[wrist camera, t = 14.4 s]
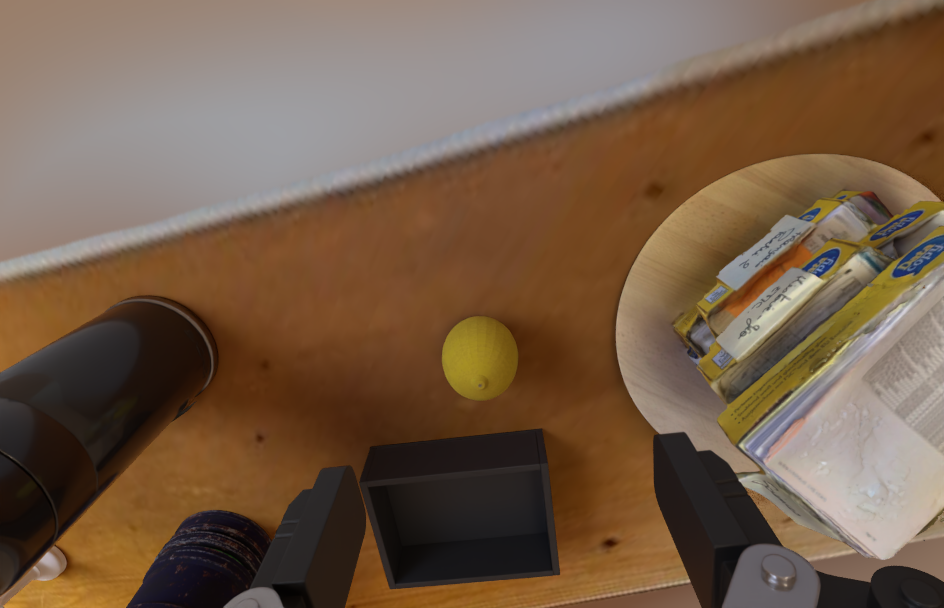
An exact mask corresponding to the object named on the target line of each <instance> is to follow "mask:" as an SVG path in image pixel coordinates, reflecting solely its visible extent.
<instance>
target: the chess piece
mask: <svg viewBox="0 0 944 608" xmlns="http://www.w3.org/2000/svg"><path fill="white" fill-rule="evenodd" d="M66 565H67V562H66V558H65V556H64V554H63V553H62V552H61V551H60V550H59V549H58V548H57V547H55V546H53V547H52V548H51V549H50V550H49V551H48V552H47V553H46V554H45V556H44V557H43V558H42V559H41V560H40V561H39V562H38V563H37V564H36V565H35V566H34V567H33V568H32V569H31V570H30V571H29V572H28V573H27V574H26V575H25V576H24V577H23V578H22V579H21V580H20V581H19V582H18V583H17V584H16V585H15V586H14V587H13V588H12V589H11V590H9V591H8V592H7V593H5V594H4V595H2V596H1V597H0V608H4V607H3V606H4V605H5V604H6V603H7V602H8V601H9V600H10V599H11V598H12V597H13V596H14V595H16V594H17V593H18V592H19V591H20V590H21V589H22V588H24V587H25V586H26V585H27V584H28V583H29V582H31V581H32V580H42V581H45V580H51V579H54V578H56V577H57V576H58V575H59V574H60V573H62V572H63V571H64V570H65V568H66Z"/></svg>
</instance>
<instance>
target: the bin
mask: <svg viewBox="0 0 944 608" xmlns="http://www.w3.org/2000/svg"><path fill="white" fill-rule="evenodd" d="M359 484H360V487H361V491H362V494H363V497H364V501H365V504H366V508H367V511H368V515H369V518H370V522H371V525H372V529H373V532H374V536H375V539H376V543H377V546H378V550H379V553H380V557H381V560H382V563H383V567H384V570H385V574H386V577H387V581H388V584H389V588H390V589H401V588H413V587H425V586H436V585H448V584H460V583H472V582H484V581H496V580H507V579H519V578H531V577H543V576H553V575H560V569H559V560H558V550H557V541H556V532H555V523H554V514H553V505H552V496H551V487H550V478H549V469H548V461H547V455H546V450H545V444H544V438H543V432H542V429H534V430H525V431H515V432H506V433H497V434H487V435H478V436H468V437H459V438H449V439H440V440H431V441H421V442H412V443H402V444H393V445H384V446H374V447H370V450H369V453H368V456H367V460H366V463H365V466H364V469H363V472H362V475H361V478H360V481H359Z"/></svg>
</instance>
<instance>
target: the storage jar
mask: <svg viewBox="0 0 944 608" xmlns="http://www.w3.org/2000/svg"><path fill="white" fill-rule="evenodd" d="M270 544H271V540H270V538H269V537H268V535H267V534H266V533H265V531H264V530H263V529H262V528H261V527H259V526H258V525H257V524H256V523H254V522H253V521H251V520H249V519H247V518H246V517H243V516H241V515H238V514H235V513H232V512H227V511H219V510H211V511H203V512H199V513H196V514H194V515H192V516H190V517H188V518H187V519H186V520H185V521H183V522H182V524H181V525H180V526H179V528H178V529H177V531H176V532H175V535H174V536H172V538H171V539H170V541H169V542H167V543H166V544H165V546H164V547H163V549H162V550H161V551H160V553H159V554H158V556H157V557H156V558H155V561H154V563H153V564H152V565H151V567H150V569H149V570H148V572H147V573H146V575H145V577H144V580H143V584H142V585H141V587H140V588H139V590H138V591H137V593H136V594H135V596H134V597H133V598H132V600H131V601H130V603H129V604H128V606H127V607H126V608H223V607H224V606H225V605H226V604H227V603H228V602H229V601H231V600H232V599H233V598H234V597H236V596H237V595H239V594H241V593H243V592H244V591H247V590H249V589H250V587H251V584H252V582H253V580H254V578H255V576H256V574H257V572H258V570H259V568H260V565H261V563H262V561H263V559H264V557H265V555H266V553H267V551H268V549H269V546H270Z"/></svg>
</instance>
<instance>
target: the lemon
mask: <svg viewBox="0 0 944 608" xmlns="http://www.w3.org/2000/svg"><path fill="white" fill-rule="evenodd" d="M442 365H443V369H444V374H445V376H446V378H447V380H448V382H449V384H450V385H451V386H452V388H453V389H454V390H455V391H456V392H457V393H459V394H460V395H462V396H463V397H466V398H469V399H471V400H478V401H480V400H488V399H492V398H495V397H496V396H498V395H500V394H502V393H503V392H504V391H505V390H506V389H507V388H508V387H509V385H510V384H511V382H512V381H513V379H514V377H515V373H516V370H517V367H518V349H517V345H516V342H515V339H514V337H513V336H512V334H511V332H510V331H509V329H508V328H506V327H505V326H504V325H503V324H502V323H501V322H499V321H497V320H495V319H493V318H490V317H486V316H475V317H470V318H467V319H465V320H463V321H461V322H460V323H458V324H457V325H456V326H455V327H454V328H453V329H452V330H451V331H450V333H449V334H448V336H447V338H446V340H445V343H444V346H443V351H442Z"/></svg>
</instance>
